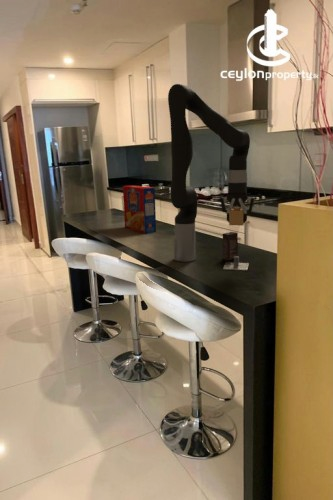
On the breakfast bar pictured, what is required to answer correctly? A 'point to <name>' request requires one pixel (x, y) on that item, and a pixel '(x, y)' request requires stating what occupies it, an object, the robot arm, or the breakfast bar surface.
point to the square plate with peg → (236, 265)
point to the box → (230, 245)
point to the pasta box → (139, 208)
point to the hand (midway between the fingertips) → (236, 222)
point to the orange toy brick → (236, 216)
